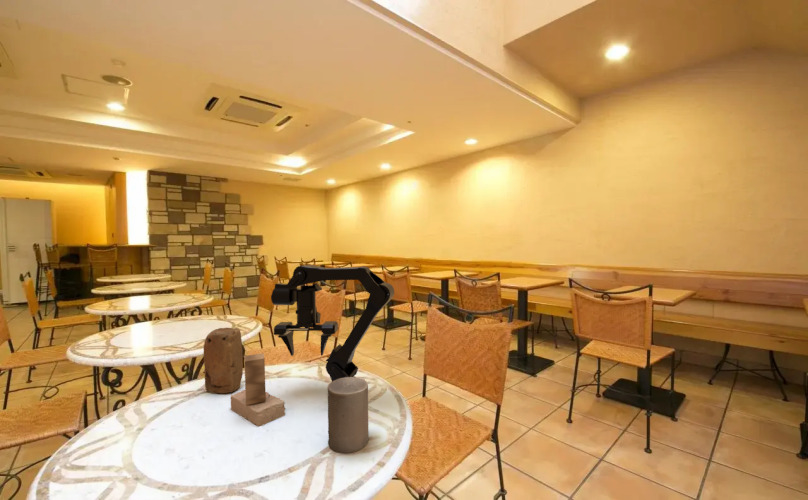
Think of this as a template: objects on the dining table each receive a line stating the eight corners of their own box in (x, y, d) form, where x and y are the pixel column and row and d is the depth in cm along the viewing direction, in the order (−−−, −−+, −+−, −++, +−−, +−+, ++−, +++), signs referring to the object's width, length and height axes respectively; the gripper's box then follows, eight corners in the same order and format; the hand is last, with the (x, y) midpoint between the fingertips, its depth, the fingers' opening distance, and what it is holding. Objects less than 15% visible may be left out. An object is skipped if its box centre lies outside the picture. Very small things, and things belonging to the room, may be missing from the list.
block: (245, 385, 114) (244, 326, 114) (232, 395, 107) (230, 332, 107) (215, 384, 115) (213, 326, 115) (200, 394, 108) (198, 332, 108)
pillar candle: (319, 444, 79) (318, 382, 79) (348, 425, 87) (347, 368, 87) (349, 459, 74) (348, 392, 74) (377, 437, 82) (376, 376, 82)
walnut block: (264, 393, 98) (263, 353, 97) (265, 401, 93) (264, 358, 93) (245, 397, 96) (244, 355, 95) (245, 405, 91) (244, 361, 91)
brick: (287, 415, 94) (286, 398, 94) (258, 428, 88) (257, 410, 88) (257, 399, 104) (256, 384, 104) (229, 410, 98) (228, 394, 98)
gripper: (341, 300, 112) (342, 347, 113) (285, 301, 112) (286, 347, 113) (334, 306, 101) (335, 358, 101) (272, 307, 101) (273, 359, 102)
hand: (307, 355), depth 105 cm, fingers open, 9 cm apart
